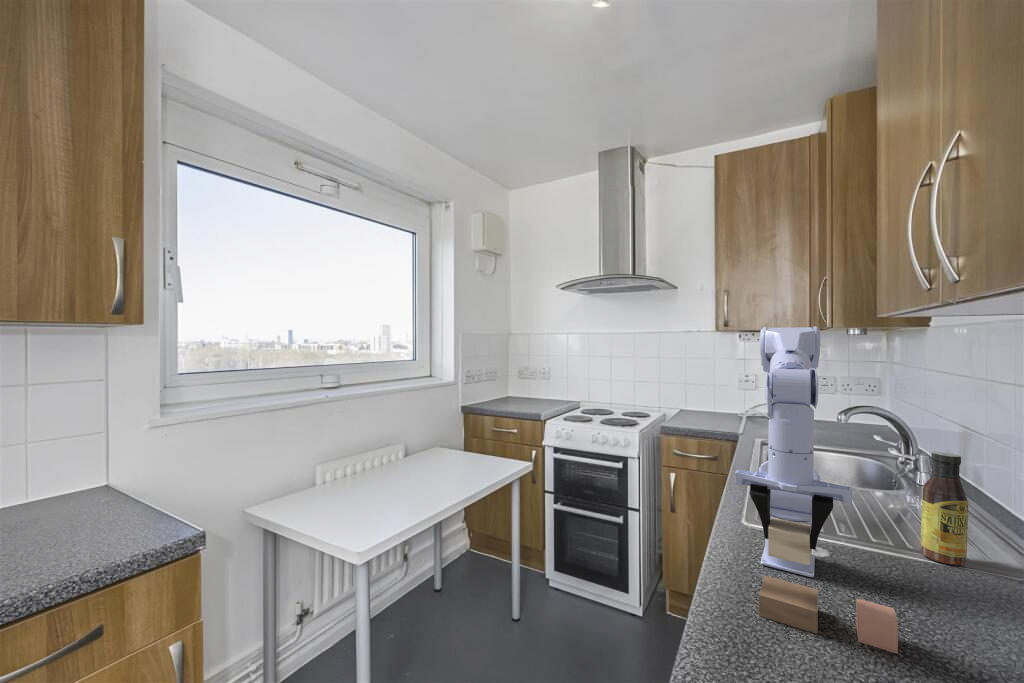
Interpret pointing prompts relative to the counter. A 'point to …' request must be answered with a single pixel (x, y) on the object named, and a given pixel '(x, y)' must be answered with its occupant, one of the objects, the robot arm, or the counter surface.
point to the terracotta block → (877, 625)
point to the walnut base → (789, 603)
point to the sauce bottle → (944, 512)
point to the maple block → (789, 540)
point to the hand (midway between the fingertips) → (789, 541)
